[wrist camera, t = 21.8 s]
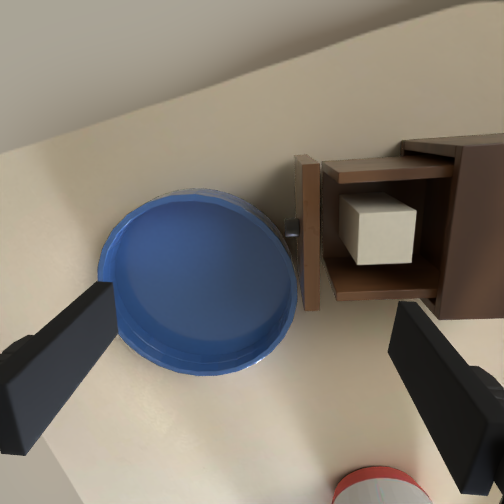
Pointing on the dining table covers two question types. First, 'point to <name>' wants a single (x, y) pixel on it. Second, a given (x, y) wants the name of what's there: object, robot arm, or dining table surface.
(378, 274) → the drawer
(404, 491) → the citrus juicer
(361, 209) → the block
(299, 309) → the dining table surface
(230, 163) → the dining table surface
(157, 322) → the bowl
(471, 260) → the cabinet
